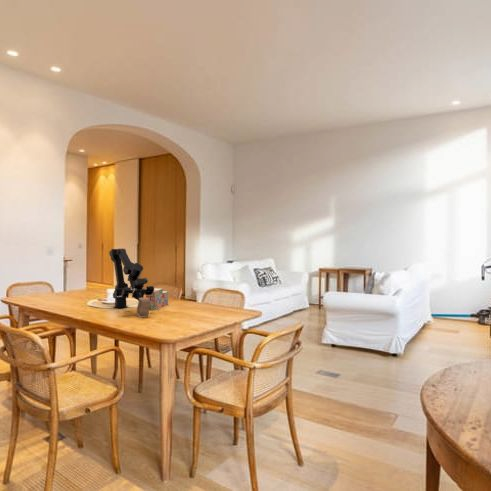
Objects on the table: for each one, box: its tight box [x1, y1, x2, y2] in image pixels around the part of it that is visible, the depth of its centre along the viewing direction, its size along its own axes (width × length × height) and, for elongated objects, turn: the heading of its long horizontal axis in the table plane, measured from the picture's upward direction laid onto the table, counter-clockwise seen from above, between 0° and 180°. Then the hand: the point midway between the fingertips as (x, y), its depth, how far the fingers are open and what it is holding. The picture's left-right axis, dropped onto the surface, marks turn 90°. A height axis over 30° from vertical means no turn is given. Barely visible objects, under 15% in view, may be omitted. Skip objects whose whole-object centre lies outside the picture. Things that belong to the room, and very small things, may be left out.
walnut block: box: [136, 296, 151, 318], centre depth 226 cm, size 5×5×10 cm
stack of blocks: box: [145, 287, 169, 311], centre depth 257 cm, size 21×6×12 cm, turn 169°
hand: (142, 302), depth 227 cm, fingers closed
